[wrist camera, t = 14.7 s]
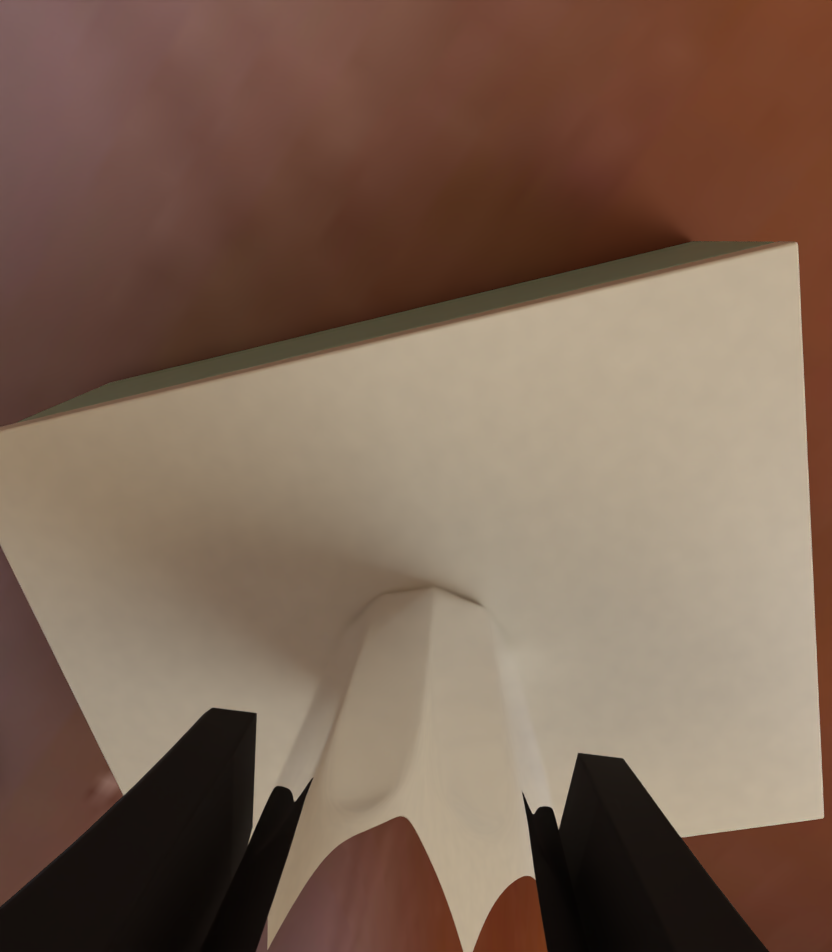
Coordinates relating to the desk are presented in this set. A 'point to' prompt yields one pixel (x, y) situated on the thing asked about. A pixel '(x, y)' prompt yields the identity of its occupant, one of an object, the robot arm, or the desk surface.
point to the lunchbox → (405, 321)
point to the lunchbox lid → (463, 532)
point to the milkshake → (408, 803)
